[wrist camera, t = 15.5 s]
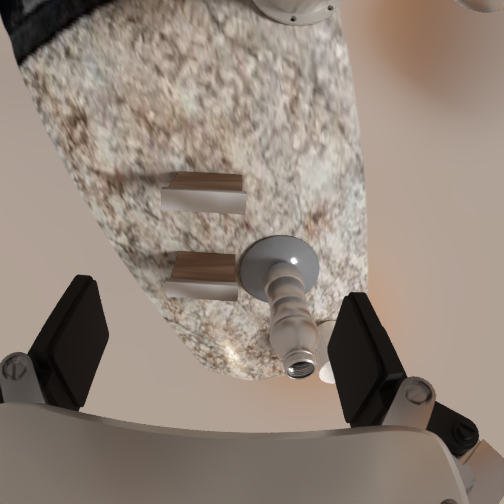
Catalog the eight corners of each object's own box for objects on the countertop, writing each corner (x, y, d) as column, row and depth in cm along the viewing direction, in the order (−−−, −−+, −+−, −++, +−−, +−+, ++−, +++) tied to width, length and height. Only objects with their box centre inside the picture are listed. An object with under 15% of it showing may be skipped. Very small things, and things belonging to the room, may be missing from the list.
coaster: (243, 232, 48) (243, 234, 47) (325, 238, 49) (326, 240, 48) (237, 299, 54) (237, 301, 54) (310, 302, 55) (310, 304, 55)
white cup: (302, 329, 59) (311, 368, 50) (339, 311, 57) (354, 349, 48) (318, 350, 62) (328, 388, 53) (352, 334, 60) (366, 371, 52)
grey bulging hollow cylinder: (271, 295, 53) (284, 392, 36) (255, 265, 50) (263, 362, 33) (306, 282, 52) (333, 376, 35) (293, 250, 49) (320, 344, 32)
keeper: (175, 169, 42) (160, 189, 35) (245, 173, 43) (246, 193, 36) (176, 263, 50) (166, 296, 42) (237, 267, 51) (237, 301, 43)
